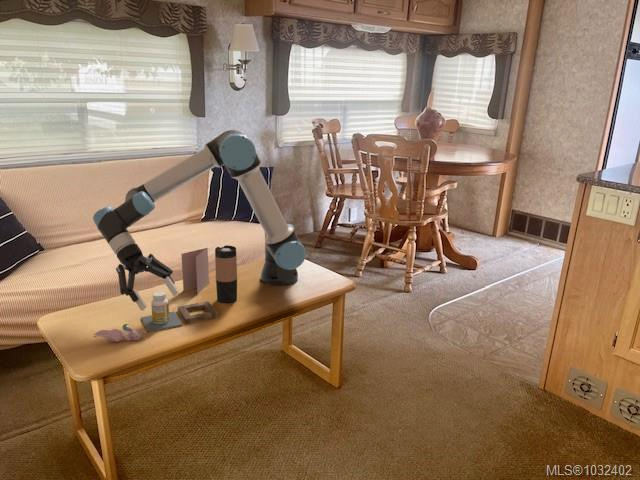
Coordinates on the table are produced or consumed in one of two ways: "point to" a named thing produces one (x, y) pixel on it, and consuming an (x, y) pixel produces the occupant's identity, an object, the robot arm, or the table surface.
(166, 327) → the slate pad
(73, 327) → the table surface
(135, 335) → the pink patterned figure
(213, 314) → the brown flat square frame
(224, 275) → the travel mug
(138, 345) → the table surface
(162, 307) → the supplement bottle
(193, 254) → the greeting card
